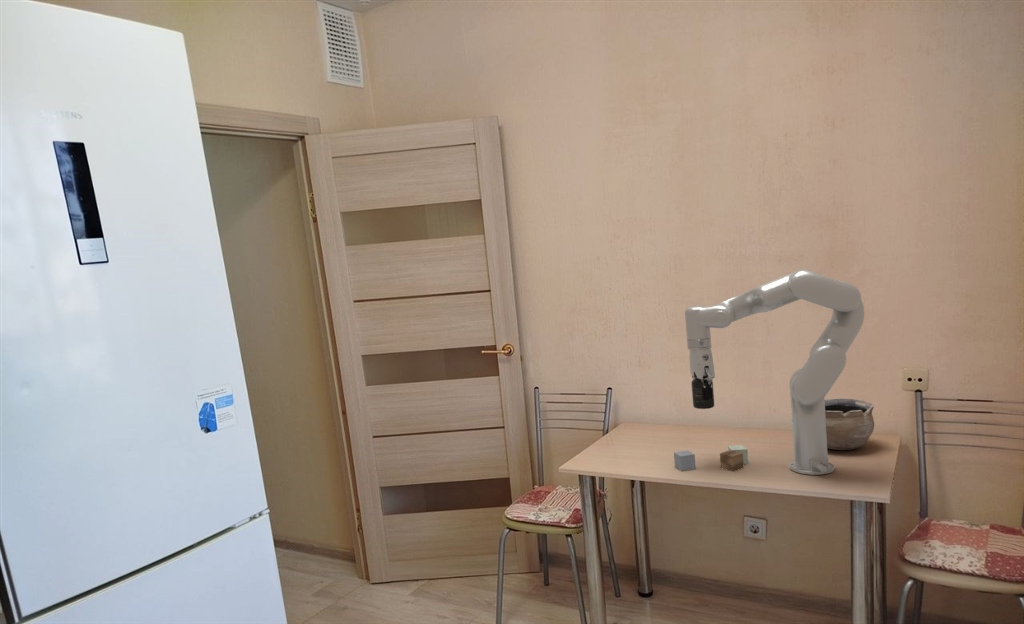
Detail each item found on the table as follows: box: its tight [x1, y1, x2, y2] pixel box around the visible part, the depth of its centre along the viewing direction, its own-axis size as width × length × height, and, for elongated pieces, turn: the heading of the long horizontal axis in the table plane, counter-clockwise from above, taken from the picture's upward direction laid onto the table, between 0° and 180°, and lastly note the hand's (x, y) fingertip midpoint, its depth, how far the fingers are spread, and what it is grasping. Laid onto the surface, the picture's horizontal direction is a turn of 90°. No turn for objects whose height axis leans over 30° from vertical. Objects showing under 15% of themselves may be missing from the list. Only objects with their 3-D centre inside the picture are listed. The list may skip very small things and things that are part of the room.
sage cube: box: [727, 444, 749, 465], centre depth 213 cm, size 5×5×5 cm
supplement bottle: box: [691, 372, 715, 410], centre depth 210 cm, size 7×7×12 cm
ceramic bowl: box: [824, 398, 875, 451], centre depth 219 cm, size 22×22×15 cm
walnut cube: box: [719, 450, 745, 472], centre depth 207 cm, size 5×5×5 cm
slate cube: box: [673, 449, 697, 472], centre depth 212 cm, size 5×5×5 cm
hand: (703, 397), depth 210 cm, fingers closed on supplement bottle, 6 cm apart
